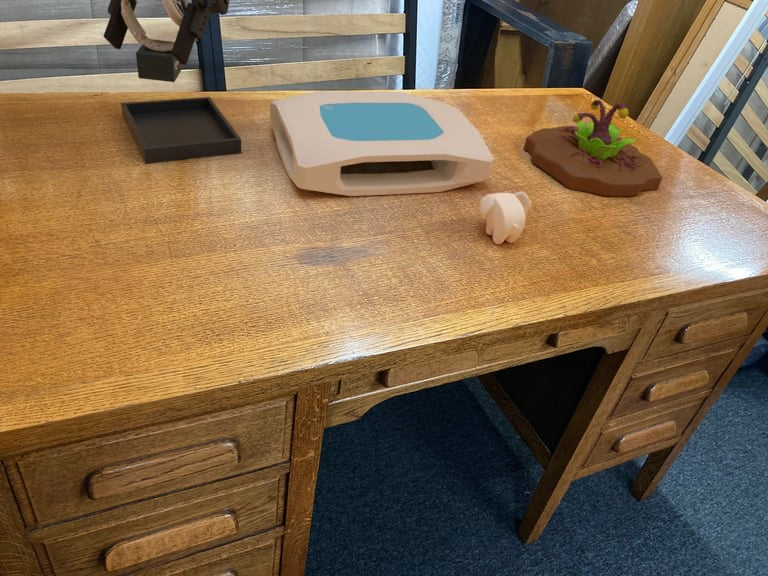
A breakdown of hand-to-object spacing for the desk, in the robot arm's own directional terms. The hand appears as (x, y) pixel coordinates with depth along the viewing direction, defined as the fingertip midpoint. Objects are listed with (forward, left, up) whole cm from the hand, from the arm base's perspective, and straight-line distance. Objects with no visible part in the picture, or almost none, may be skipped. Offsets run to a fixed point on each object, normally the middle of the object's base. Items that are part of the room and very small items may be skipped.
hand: (145, 50), depth 75 cm
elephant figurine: (+30, +36, -15) cm, 49 cm away
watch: (-2, +2, -4) cm, 5 cm away
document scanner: (+7, +30, -15) cm, 34 cm away
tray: (-7, +5, -15) cm, 17 cm away
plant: (+18, +64, -15) cm, 68 cm away
